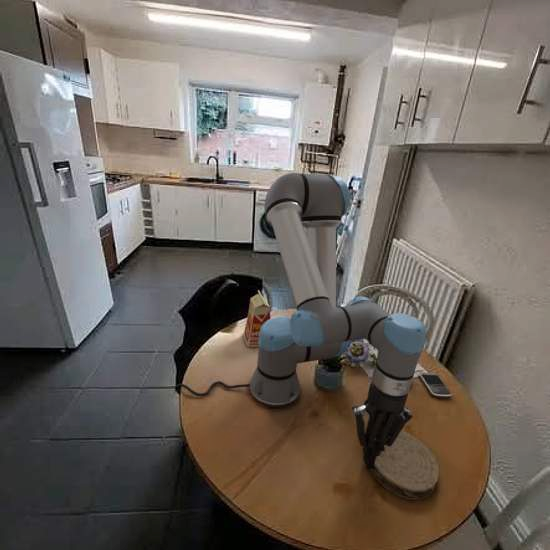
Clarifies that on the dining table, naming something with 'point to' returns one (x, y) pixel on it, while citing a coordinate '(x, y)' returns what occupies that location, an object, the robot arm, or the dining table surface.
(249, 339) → the milk carton
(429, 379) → the cell phone
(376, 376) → the robot arm
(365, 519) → the dining table surface
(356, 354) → the passion flower
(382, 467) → the woven round trivet
